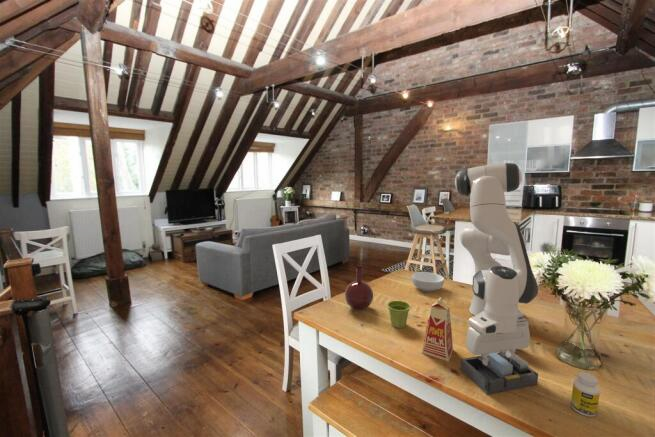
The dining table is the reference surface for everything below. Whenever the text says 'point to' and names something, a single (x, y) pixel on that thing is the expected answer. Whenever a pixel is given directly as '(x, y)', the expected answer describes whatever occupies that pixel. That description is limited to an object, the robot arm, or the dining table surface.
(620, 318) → the dining table surface
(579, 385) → the supplement bottle
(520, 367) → the tray
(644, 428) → the dining table surface
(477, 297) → the robot arm
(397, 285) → the dining table surface
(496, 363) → the light blue block
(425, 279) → the cereal bowl
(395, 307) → the plant pot
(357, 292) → the round-bottom flask
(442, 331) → the milk carton
